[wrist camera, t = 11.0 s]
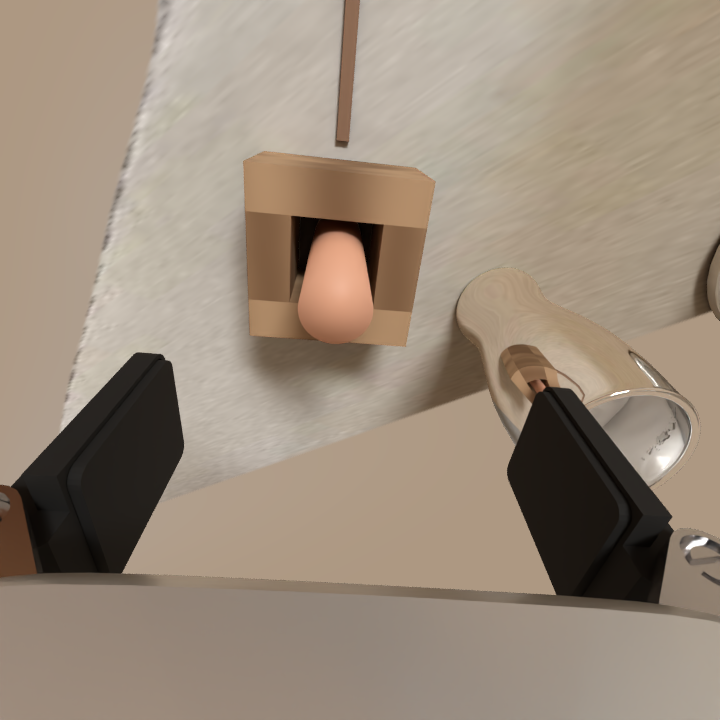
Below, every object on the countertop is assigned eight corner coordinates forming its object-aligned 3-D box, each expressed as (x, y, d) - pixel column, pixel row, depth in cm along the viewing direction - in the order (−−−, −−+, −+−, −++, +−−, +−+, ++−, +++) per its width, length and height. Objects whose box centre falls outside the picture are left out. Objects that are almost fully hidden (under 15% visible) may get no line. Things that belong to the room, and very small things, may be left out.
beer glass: (496, 364, 32) (599, 530, 19) (429, 318, 30) (497, 471, 17) (566, 296, 29) (741, 437, 17) (498, 239, 27) (641, 351, 14)
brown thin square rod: (368, -105, 19) (368, -108, 19) (348, 141, 24) (348, 141, 24) (352, -107, 19) (352, -111, 18) (336, 140, 24) (336, 140, 24)
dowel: (363, 213, 26) (377, 277, 16) (358, 260, 27) (368, 346, 17) (315, 209, 26) (298, 270, 15) (313, 256, 27) (296, 341, 17)
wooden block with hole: (415, 167, 25) (435, 181, 20) (394, 305, 29) (405, 346, 24) (264, 151, 24) (243, 160, 19) (266, 295, 28) (249, 335, 23)
